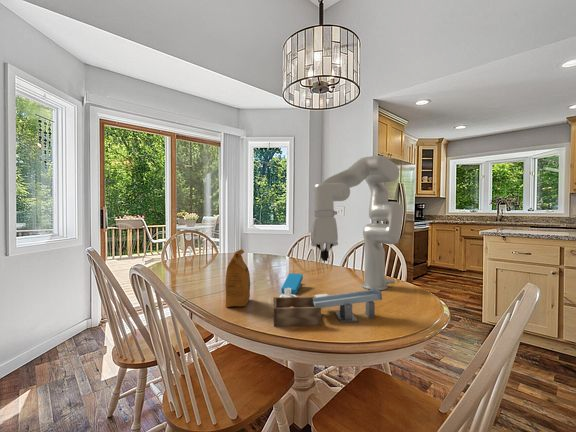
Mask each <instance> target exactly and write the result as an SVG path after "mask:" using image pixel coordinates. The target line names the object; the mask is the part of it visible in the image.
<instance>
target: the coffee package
mask: <svg viewBox="0 0 576 432" xmlns="http://www.w3.org/2000/svg"><path fill="white" fill-rule="evenodd" d="M244 253H245V251H244V250H243V248H240V249H238V250H237V251H234V254H233V256H232V257H231V259H230V261H229V263H228V265H227V267H226V273H225V284H224V286H225V287H224V288H225V307H226V308H230V307H233V308H234V307H239V308H240V307H245V306H247V304H248V302H249V300H250V297H251V274H250V271H249V267H248V266H247V264H246V262H245V261H244V258H243V254H244Z"/></svg>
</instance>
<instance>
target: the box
mask: <svg viewBox="0 0 576 432" xmlns="http://www.w3.org/2000/svg"><path fill="white" fill-rule="evenodd" d="M313 298H315V296H297V297H294V296H291V297H284V296H282V297H279V296H278V297H277V296H276V297H274V296H273V299H272V300H273V302H272V303H273V327H298V326H299V327H303V326H307V327H308V326H309V327H311V326H312V327H313V326H322V308H321V307H315V306H314V304H313Z"/></svg>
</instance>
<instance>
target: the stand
mask: <svg viewBox="0 0 576 432" xmlns="http://www.w3.org/2000/svg"><path fill="white" fill-rule="evenodd" d="M375 304H376V303H375V301H369V302H365V315H366V317H367V318H368V319H375V315H376V313H375V311H376V310H375V307H376V305H375ZM334 313H335V315H336V317H337V318H338V320H339V322H340V323H358V322H359V320H358V318H357V317H356V316H355V315H354V313H353V304H345V305H340V306H339V309H335V310H334Z"/></svg>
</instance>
